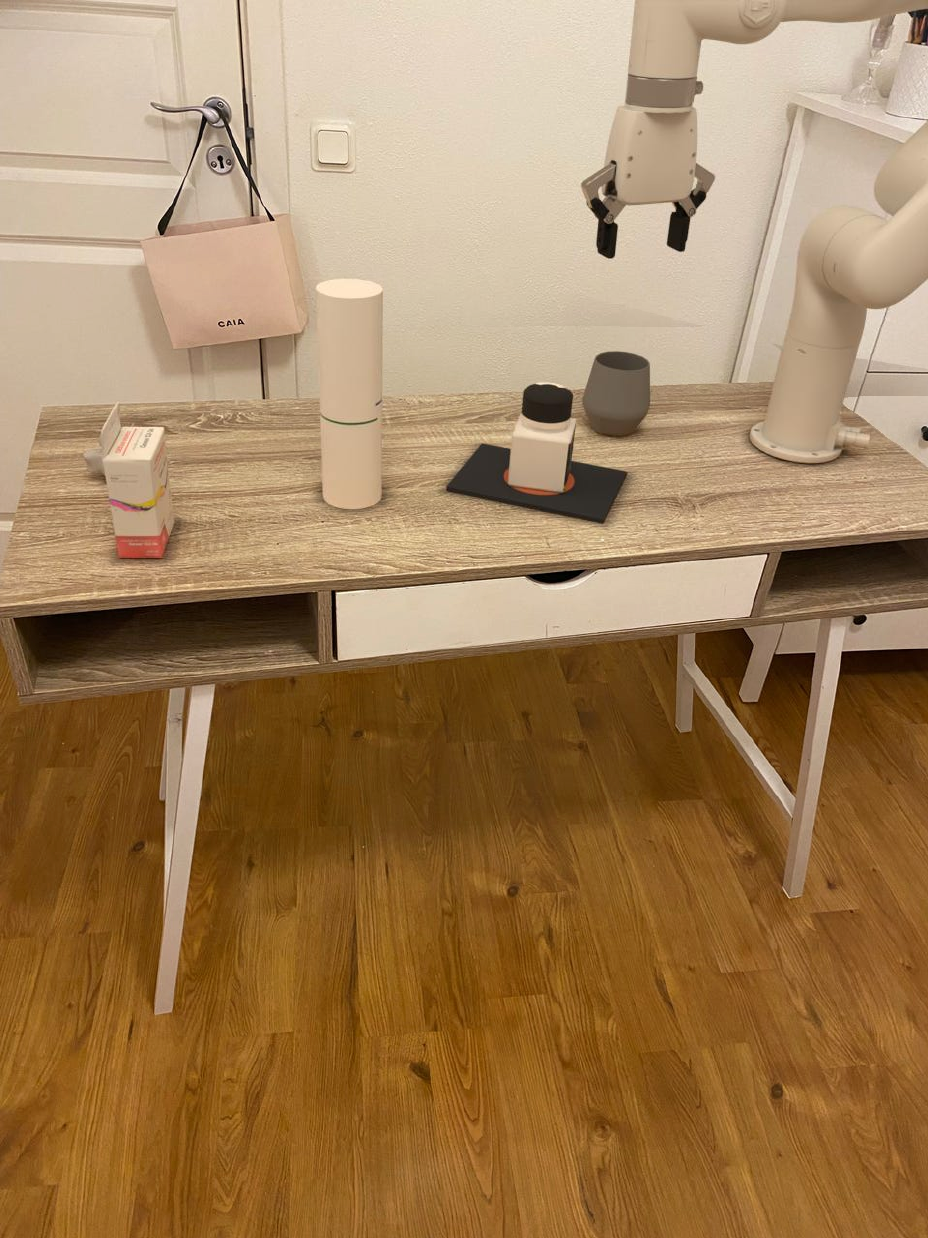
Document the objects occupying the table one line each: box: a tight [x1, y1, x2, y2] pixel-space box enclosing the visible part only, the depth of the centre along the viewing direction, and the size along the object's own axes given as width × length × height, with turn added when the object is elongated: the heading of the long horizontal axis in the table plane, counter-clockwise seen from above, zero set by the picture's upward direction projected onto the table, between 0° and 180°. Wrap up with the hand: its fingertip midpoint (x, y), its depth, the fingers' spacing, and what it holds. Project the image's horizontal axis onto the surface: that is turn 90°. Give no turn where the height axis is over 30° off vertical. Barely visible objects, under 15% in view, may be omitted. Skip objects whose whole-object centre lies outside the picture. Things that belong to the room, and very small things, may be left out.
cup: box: [581, 350, 651, 437], centre depth 139 cm, size 10×9×10 cm
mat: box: [445, 443, 628, 524], centre depth 127 cm, size 20×14×1 cm
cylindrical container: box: [315, 278, 384, 510], centre depth 115 cm, size 7×7×25 cm
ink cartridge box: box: [100, 401, 175, 559], centre depth 106 cm, size 9×5×15 cm, turn 5°
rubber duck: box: [82, 422, 114, 477], centre depth 120 cm, size 5×7×8 cm
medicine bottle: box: [508, 381, 577, 493], centre depth 123 cm, size 7×7×12 cm
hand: (641, 252), depth 121 cm, fingers open, 9 cm apart
